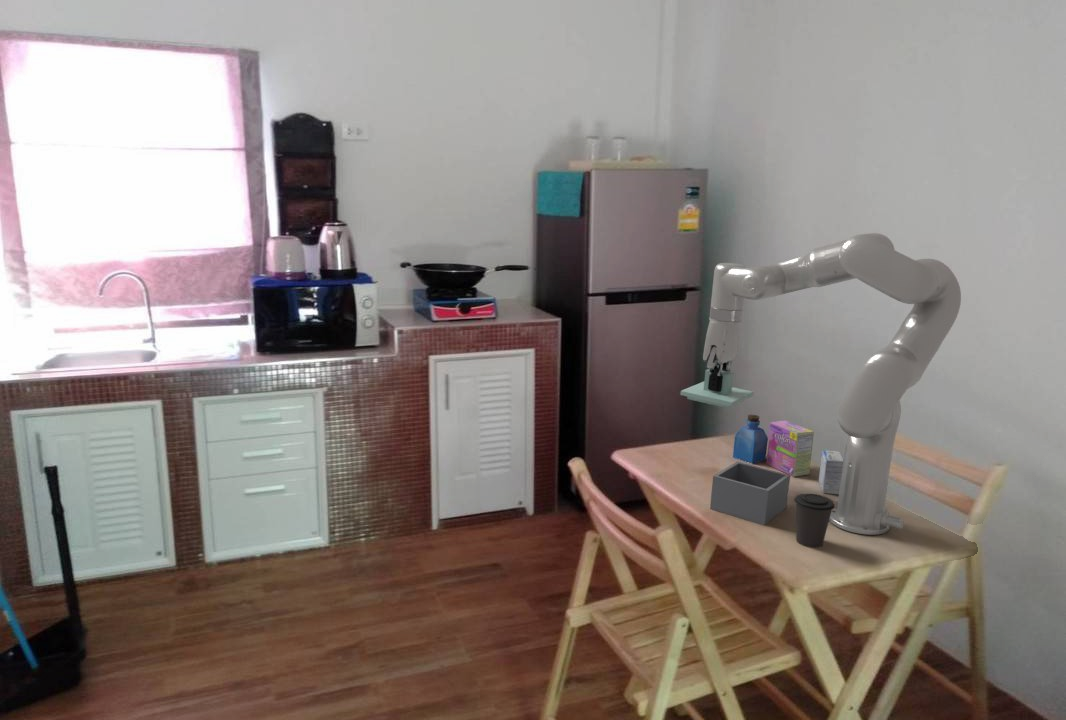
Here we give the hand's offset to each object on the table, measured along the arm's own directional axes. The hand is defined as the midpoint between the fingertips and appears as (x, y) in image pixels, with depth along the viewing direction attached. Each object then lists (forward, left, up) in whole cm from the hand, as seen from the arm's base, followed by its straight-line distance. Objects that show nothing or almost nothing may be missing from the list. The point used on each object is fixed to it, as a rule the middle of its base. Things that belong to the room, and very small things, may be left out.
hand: (717, 388), depth 199 cm
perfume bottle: (-1, -23, -24) cm, 33 cm away
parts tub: (-15, +10, -24) cm, 30 cm away
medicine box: (-25, -16, -24) cm, 38 cm away
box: (-12, -22, -24) cm, 34 cm away
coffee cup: (-32, +18, -24) cm, 44 cm away
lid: (0, 0, -3) cm, 3 cm away
